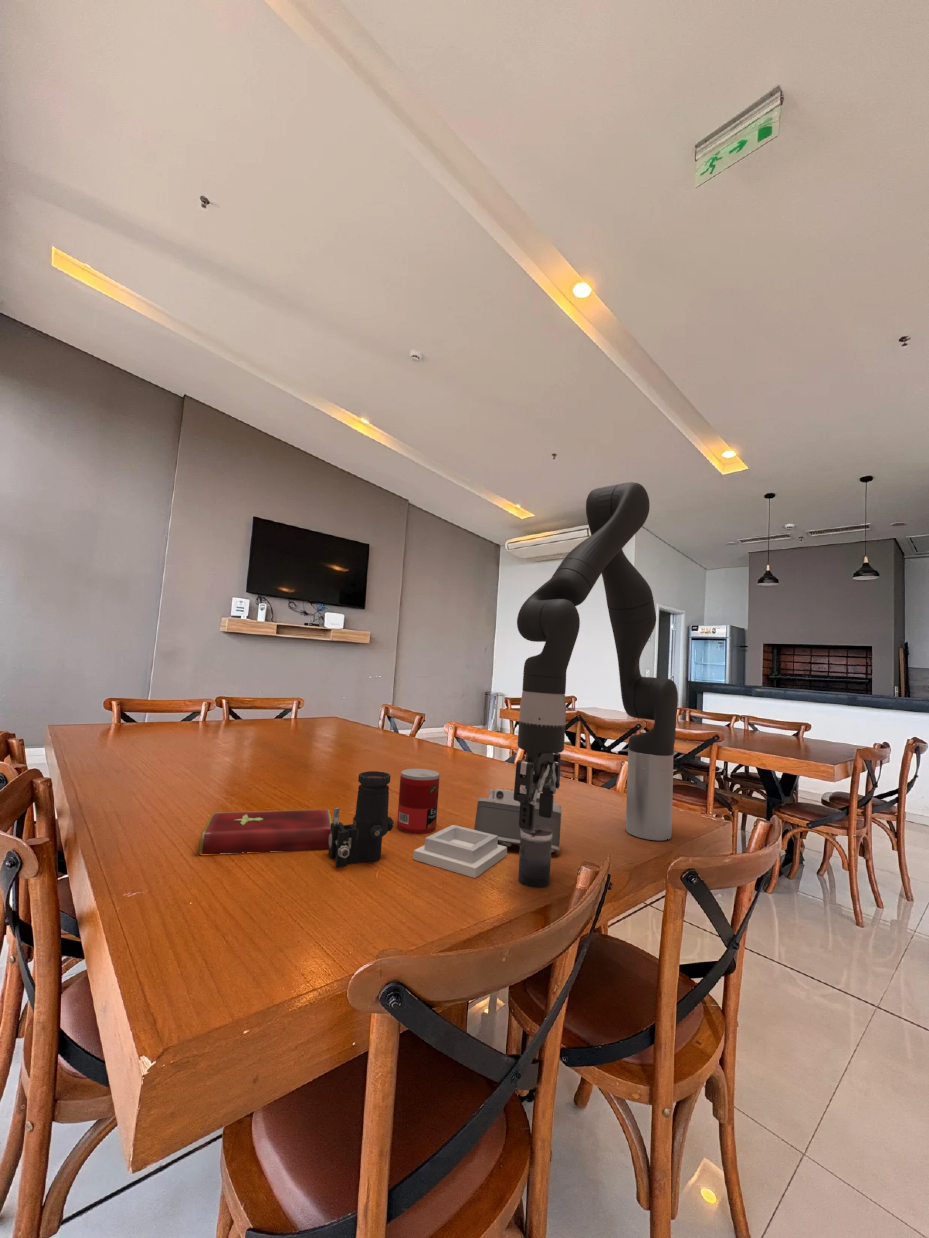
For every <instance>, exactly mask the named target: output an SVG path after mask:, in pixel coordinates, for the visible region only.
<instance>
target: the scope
mask: <svg viewBox="0 0 929 1238" xmlns="http://www.w3.org/2000/svg"><path fill="white" fill-rule="evenodd" d="M391 776H392V775H390V773H388V772H384V771H377V770H373V771H370V770H369V771H363V772H360V773H359V774H358V779H357V780H358V782H359V785H358V787H357V789H358V790H357V798H356V805H355V815H354V817H353V818H352V823H349V824H343V823H342V822H341V821H340V809H341V808H340V807H334V808H333V812H332V813H333V815H332V823H331V834H330V835H329V846H330V847H331V848H330V849H328V853H327V854H328V857H329V859H330V860H334V859H335V863H334V865H335V867H336V868H343V867H345V868H346V867H347V866H348V865H352V864H361V863H362V864H364V863H368V864H370V863H377V862H379V861H380V860H381V856H382V844H383V843H382V842H383V837H384V836H386V835H387V833H388V832H391V831H392V830H393V828H394V820H393V818H392V817H390V816H389V799H390V798H389V797H390V792H389V791H390V787H389V784H390V783H391V778H392V777H391Z"/></svg>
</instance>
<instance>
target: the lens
mask: <svg viewBox="0 0 929 1238" xmlns="http://www.w3.org/2000/svg"><path fill="white" fill-rule="evenodd" d="M551 846H552V830H551V829H550V828H548V827H545V826H542V825H534V828H533V829H532V830H526V829H522V828H521V829H520V846H519V853H518V854H519V859H518V877H517V879H518V882H519V883H520V884H522V885H523V886H524V887H525V886H526V887H529V888H533V889H543V888H547V887H549V886H550V884H551V866H552V864H551V861H552V853H551Z"/></svg>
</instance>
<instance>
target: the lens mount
mask: <svg viewBox="0 0 929 1238" xmlns="http://www.w3.org/2000/svg"><path fill="white" fill-rule="evenodd" d="M507 853H508V847H507V846H502V845H501V844H499V842H498V836H497V835H493V834H489V833H485V832H481V831H477V830H474V828H473V829H472V828H468V827H464V826H459V825H457V824H452V825H450V826H447V827H446V828H443V829H441V830H439V831H437V832H435V833H433V834H431V835H429V836H426V837H425V838H424V844H423V845H421V846H420V847H418V848H416V849H414V850H413V856H412V857H413V858H412V860H413V861H417V862H421V863H424V864H426V865H430V866H434V867H437V868H439V869H444V870H447V871H450V872H454V873H458V874H460V875H462V876H465V877H471V878H473V879H476V878H477V877H479V876H481V875H482V874H483V873H485V872H486V871H488V870H489V869H490V868H491V867H493V866H494V865H495V864H497V863H498V862H500V861H501V860H502V859H504V858H505V857H507Z"/></svg>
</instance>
